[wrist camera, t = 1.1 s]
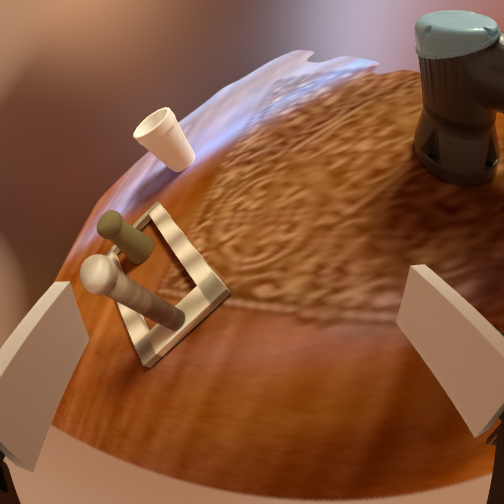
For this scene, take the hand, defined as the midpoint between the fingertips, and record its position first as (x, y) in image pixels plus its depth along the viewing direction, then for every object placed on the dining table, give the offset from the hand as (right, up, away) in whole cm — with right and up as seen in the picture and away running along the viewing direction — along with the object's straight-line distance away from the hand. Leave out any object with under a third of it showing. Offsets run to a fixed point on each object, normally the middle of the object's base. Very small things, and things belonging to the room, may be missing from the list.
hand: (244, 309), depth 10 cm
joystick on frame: (-16, -2, +39) cm, 42 cm away
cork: (-21, +2, +44) cm, 49 cm away
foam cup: (-15, +22, +54) cm, 60 cm away
